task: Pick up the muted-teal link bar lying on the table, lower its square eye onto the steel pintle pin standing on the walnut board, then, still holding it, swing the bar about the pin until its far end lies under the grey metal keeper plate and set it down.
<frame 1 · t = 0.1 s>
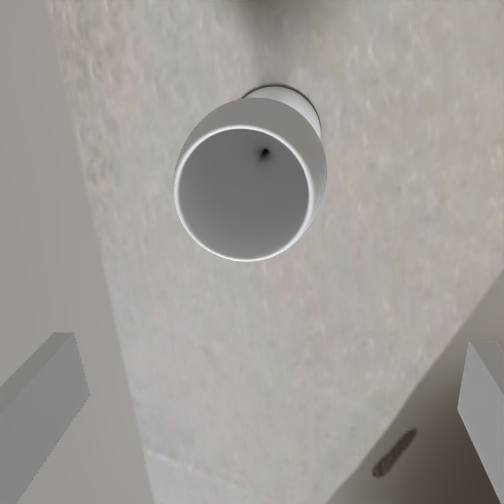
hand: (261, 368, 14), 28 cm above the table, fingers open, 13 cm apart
wineglass: (273, 136, 38), on the table
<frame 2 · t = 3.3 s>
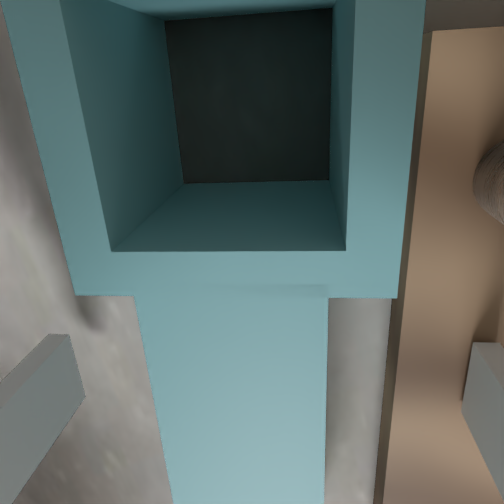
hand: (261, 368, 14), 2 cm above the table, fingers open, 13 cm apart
pintle: (493, 165, 12), resting on board
link: (270, 484, 18), on the table
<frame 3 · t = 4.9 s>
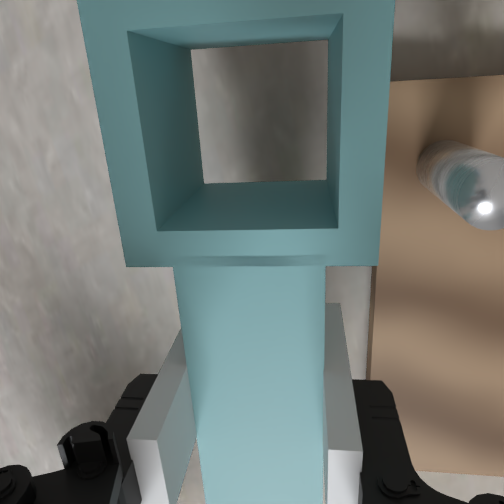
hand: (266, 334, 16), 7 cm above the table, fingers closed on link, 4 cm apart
pintle: (433, 160, 19), resting on board
link: (276, 454, 20), point 5 cm above the table, touching gripper
when the fingers open (3 cm above the table, at t = 11.9 s): link stays where it is, resting on board.
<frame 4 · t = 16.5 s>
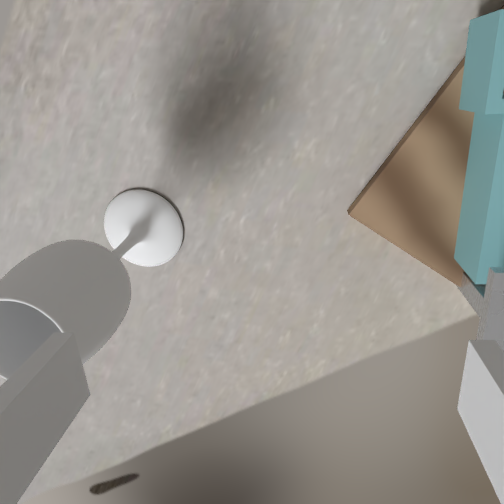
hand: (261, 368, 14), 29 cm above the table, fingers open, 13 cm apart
keeper: (466, 275, 42), resting on board
link: (477, 248, 39), point 1 cm above the table, touching board
wineglass: (144, 228, 44), on the table
board: (489, 165, 38), on the table
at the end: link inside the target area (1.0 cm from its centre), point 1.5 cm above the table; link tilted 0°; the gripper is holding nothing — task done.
